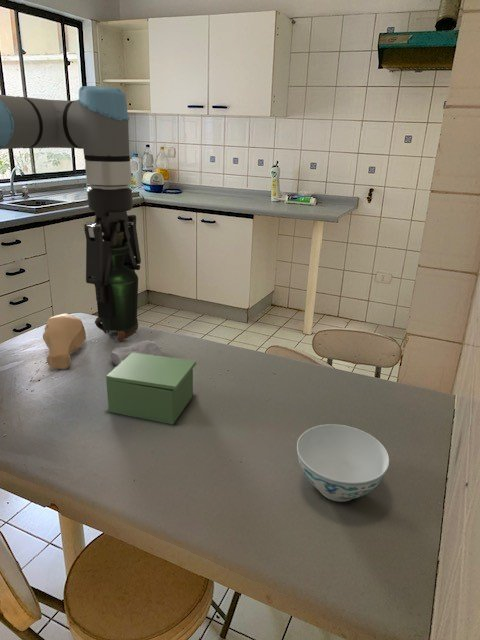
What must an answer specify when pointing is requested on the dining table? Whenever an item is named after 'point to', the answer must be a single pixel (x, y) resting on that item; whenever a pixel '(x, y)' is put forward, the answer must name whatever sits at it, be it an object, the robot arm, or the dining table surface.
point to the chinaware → (341, 461)
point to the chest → (149, 400)
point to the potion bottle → (122, 290)
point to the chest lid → (152, 370)
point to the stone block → (135, 351)
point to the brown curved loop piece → (121, 333)
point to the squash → (63, 339)
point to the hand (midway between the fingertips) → (118, 309)
